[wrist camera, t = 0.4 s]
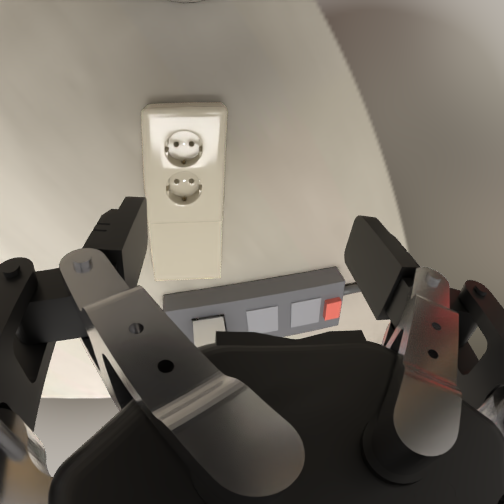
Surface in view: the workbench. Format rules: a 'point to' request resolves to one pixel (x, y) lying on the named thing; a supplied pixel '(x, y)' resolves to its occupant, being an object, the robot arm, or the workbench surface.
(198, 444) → the robot arm
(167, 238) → the electrical outlet
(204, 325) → the block
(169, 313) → the power strip
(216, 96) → the workbench surface
